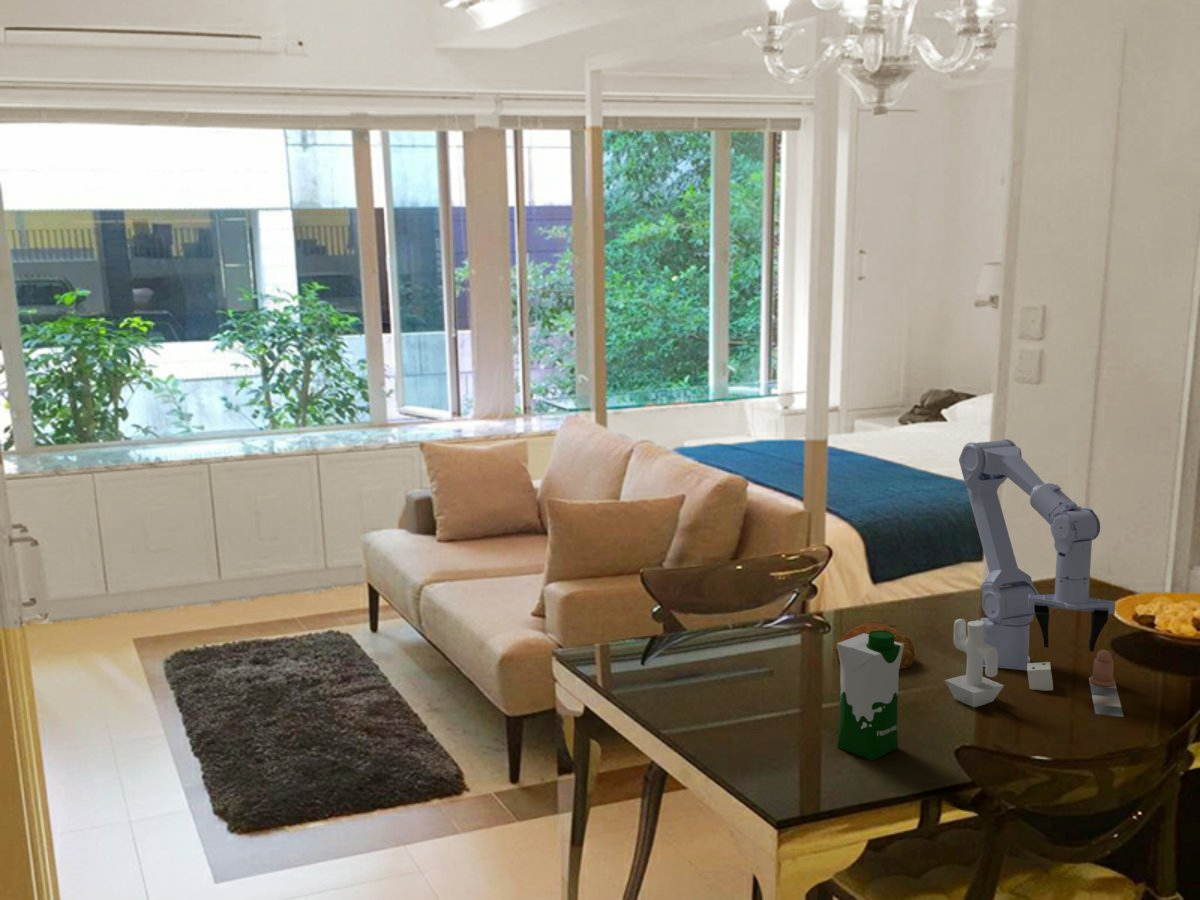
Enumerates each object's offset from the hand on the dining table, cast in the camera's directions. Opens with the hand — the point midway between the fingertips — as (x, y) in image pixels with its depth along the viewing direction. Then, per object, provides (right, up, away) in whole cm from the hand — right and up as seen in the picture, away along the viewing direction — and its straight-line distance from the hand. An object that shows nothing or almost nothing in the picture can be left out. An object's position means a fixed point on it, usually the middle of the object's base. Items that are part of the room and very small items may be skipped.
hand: (1068, 647), depth 214 cm
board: (+2, -9, -1) cm, 9 cm away
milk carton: (-41, -13, -21) cm, 48 cm away
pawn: (+8, -7, +4) cm, 11 cm away
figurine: (-18, -10, -3) cm, 21 cm away
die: (-2, -6, +2) cm, 6 cm away
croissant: (-31, -6, +19) cm, 37 cm away
